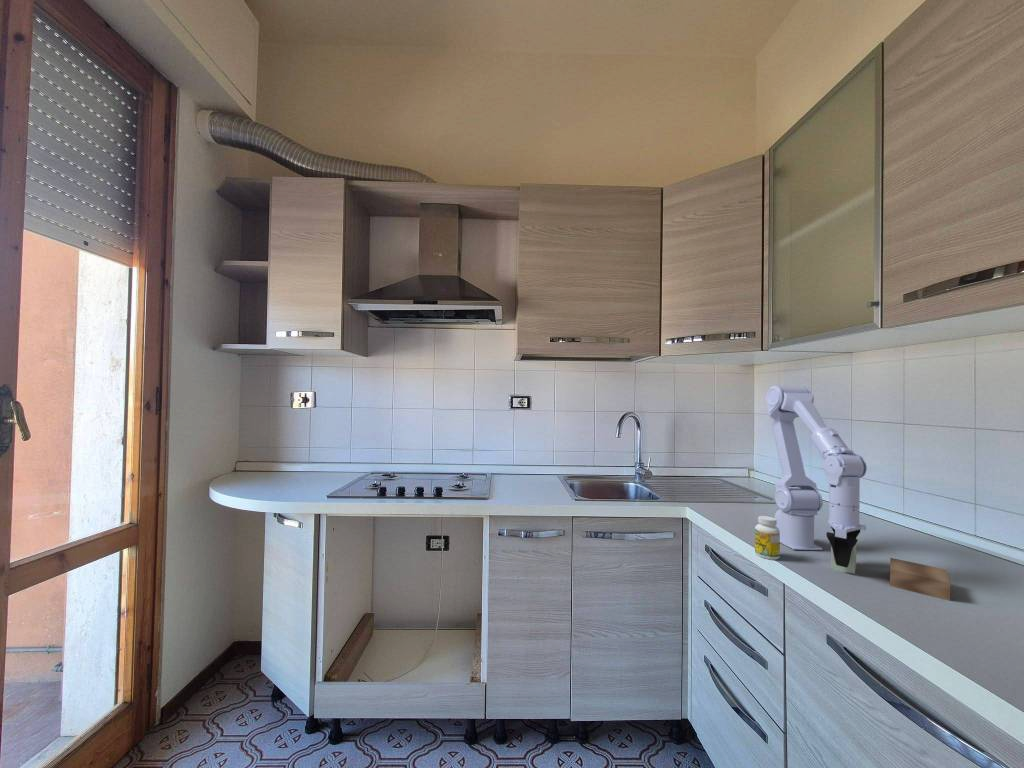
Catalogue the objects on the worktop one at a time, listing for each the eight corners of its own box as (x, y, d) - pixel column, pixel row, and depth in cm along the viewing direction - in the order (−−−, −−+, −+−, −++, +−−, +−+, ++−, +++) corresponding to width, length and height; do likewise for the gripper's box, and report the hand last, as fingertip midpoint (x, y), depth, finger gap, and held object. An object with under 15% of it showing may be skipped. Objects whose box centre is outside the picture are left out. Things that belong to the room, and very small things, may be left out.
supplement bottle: (784, 559, 103) (785, 520, 103) (766, 560, 102) (766, 521, 102) (767, 551, 108) (768, 514, 109) (749, 552, 107) (750, 515, 108)
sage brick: (830, 568, 99) (830, 542, 99) (832, 563, 102) (833, 538, 102) (854, 574, 96) (854, 548, 96) (856, 568, 99) (856, 543, 99)
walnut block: (889, 587, 90) (890, 568, 90) (890, 574, 96) (890, 557, 97) (950, 602, 84) (950, 582, 84) (946, 588, 90) (946, 569, 90)
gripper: (864, 513, 91) (863, 575, 91) (867, 502, 102) (867, 558, 101) (824, 506, 96) (823, 566, 96) (831, 496, 107) (831, 550, 106)
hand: (843, 561), depth 99 cm, fingers open, 7 cm apart
